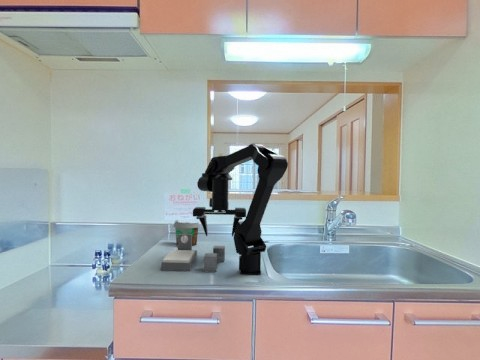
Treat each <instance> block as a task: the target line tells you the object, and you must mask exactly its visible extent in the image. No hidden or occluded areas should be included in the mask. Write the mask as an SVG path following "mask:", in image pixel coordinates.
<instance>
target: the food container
mask: <svg viewBox="0 0 480 360" xmlns="http://www.w3.org/2000/svg"><path fill="white" fill-rule="evenodd" d="M199 222H200V221H199ZM199 222H187V221H186V222H182V221H181V222H179V220H178V219H177V220H175V221H174V224H173V227H174V228H175V242H176V246H178V234H192V247H195V245H196V246H197V244H198V243H197V242H198V234H199V232H198V231H199V228H200V223H199Z"/></svg>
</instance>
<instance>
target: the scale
mask: <svg viewBox="0 0 480 360" xmlns="http://www.w3.org/2000/svg"><path fill="white" fill-rule="evenodd" d="M197 258H198V250H196V249H193V246H192V234H178V245H177V249H172V250H171V251H169V252H168V254H167V255H166V256H165V257H164V258H163V260H162V261H161V271H177V272H179V271H181V272H183V271H184V272H185V271H186V272H189V271H191V269H192V267H193V265H194V263H195V261H196V260H197Z"/></svg>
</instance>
